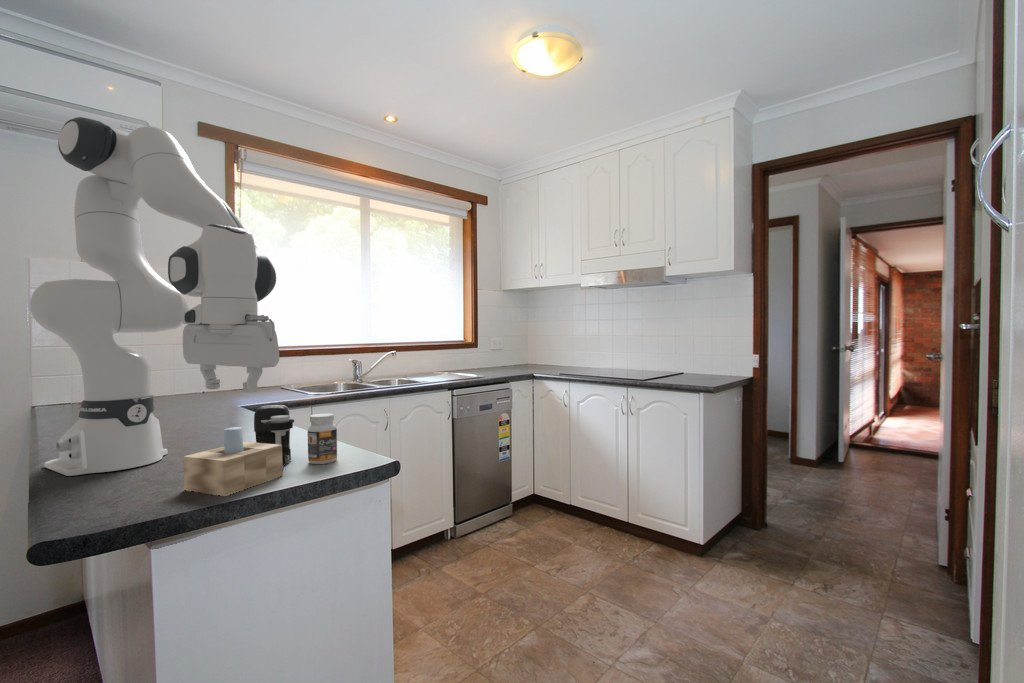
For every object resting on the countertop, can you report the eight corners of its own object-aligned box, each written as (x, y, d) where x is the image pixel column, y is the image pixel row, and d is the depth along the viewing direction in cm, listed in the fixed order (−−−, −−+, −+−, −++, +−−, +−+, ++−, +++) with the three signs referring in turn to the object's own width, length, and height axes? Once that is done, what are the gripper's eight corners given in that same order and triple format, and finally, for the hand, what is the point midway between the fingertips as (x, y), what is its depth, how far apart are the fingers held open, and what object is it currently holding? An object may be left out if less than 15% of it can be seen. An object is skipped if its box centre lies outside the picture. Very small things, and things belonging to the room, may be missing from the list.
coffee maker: (253, 461, 103) (251, 408, 102) (257, 457, 106) (255, 405, 106) (288, 458, 105) (287, 406, 105) (291, 454, 108) (290, 404, 108)
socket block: (184, 490, 84) (183, 456, 84) (244, 471, 95) (243, 441, 95) (225, 496, 80) (224, 460, 80) (282, 476, 92) (282, 444, 91)
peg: (221, 484, 87) (219, 429, 87) (236, 480, 90) (234, 426, 89) (233, 486, 86) (231, 430, 86) (248, 481, 89) (246, 427, 88)
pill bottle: (323, 466, 98) (322, 417, 98) (302, 463, 100) (301, 416, 100) (343, 459, 103) (341, 413, 103) (322, 457, 106) (321, 412, 105)
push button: (288, 468, 97) (287, 419, 97) (260, 470, 96) (259, 420, 96) (298, 460, 103) (297, 413, 103) (272, 461, 103) (271, 414, 102)
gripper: (287, 315, 86) (288, 391, 87) (207, 314, 94) (208, 385, 94) (257, 314, 80) (258, 396, 81) (174, 314, 88) (176, 389, 88)
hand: (231, 390), depth 88 cm, fingers open, 8 cm apart
